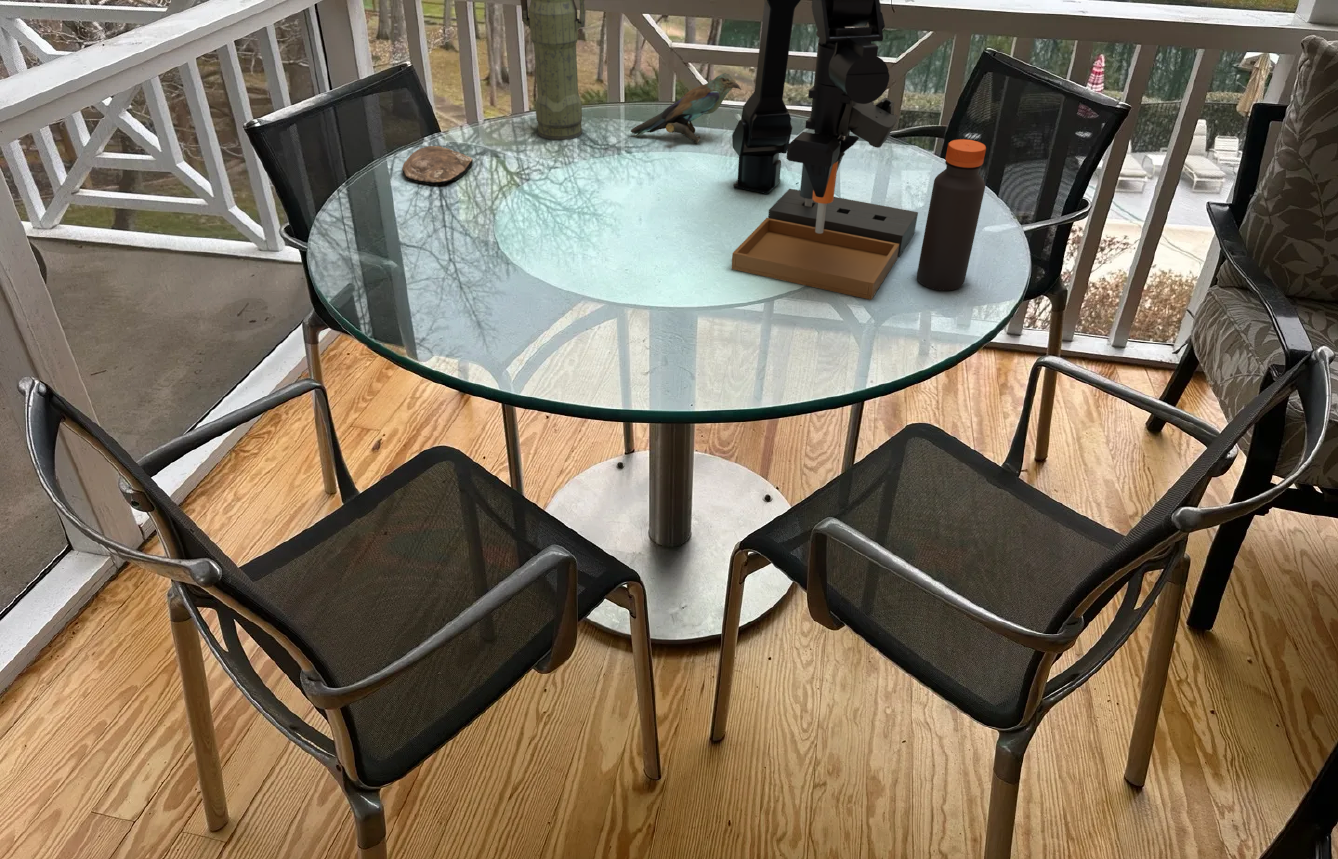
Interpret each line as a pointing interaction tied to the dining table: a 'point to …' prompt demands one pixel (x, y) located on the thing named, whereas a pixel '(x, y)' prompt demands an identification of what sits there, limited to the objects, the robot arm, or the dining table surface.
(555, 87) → the thermos
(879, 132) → the robot arm
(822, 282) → the tray
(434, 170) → the shell
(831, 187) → the orange-handled tool
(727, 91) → the bird figurine
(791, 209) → the rack
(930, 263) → the bottle
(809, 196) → the screwdriver
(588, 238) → the dining table surface
